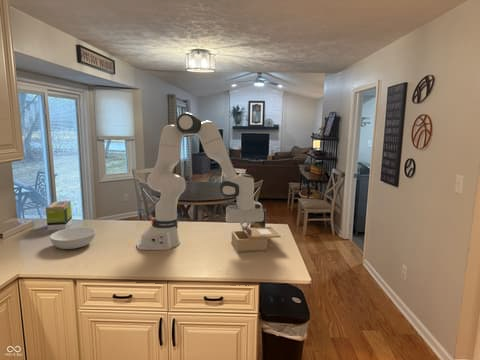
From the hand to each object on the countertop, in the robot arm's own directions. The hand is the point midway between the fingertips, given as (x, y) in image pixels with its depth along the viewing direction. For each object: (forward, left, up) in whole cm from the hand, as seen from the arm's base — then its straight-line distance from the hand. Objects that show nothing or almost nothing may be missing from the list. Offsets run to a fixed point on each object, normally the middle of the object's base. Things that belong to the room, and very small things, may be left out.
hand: (244, 229), depth 167 cm
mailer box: (+2, 0, -10) cm, 10 cm away
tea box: (-104, +51, -10) cm, 116 cm away
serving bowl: (-88, +17, -10) cm, 90 cm away
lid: (+9, 0, -2) cm, 9 cm away
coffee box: (+12, +17, -10) cm, 23 cm away
